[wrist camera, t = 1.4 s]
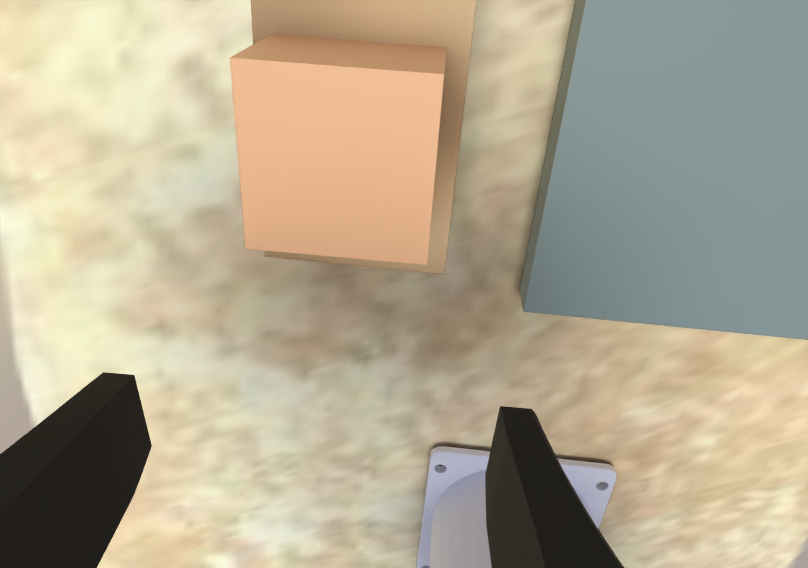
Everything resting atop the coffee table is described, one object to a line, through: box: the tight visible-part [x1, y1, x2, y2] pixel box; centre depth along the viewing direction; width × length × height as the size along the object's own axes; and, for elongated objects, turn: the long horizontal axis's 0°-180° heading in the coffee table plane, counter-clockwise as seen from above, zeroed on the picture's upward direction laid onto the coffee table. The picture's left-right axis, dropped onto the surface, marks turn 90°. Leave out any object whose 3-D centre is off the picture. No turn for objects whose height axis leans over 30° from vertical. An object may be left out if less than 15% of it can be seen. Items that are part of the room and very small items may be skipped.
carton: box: [230, 34, 447, 265], centre depth 14 cm, size 4×4×3 cm
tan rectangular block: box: [251, 0, 476, 274], centre depth 17 cm, size 8×5×5 cm, turn 176°
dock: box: [520, 0, 808, 340], centre depth 17 cm, size 14×11×3 cm
